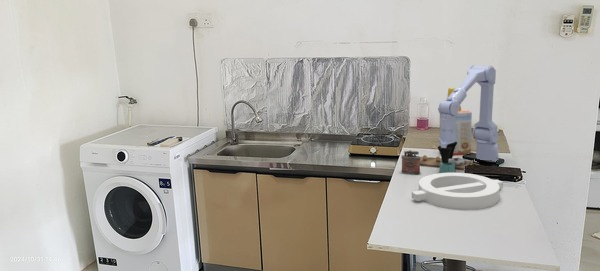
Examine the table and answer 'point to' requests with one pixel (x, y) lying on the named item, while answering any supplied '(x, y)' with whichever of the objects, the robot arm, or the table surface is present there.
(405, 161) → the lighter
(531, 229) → the table surface
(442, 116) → the robot arm
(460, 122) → the cracker box
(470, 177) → the ring with crossbar
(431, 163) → the board
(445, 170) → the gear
